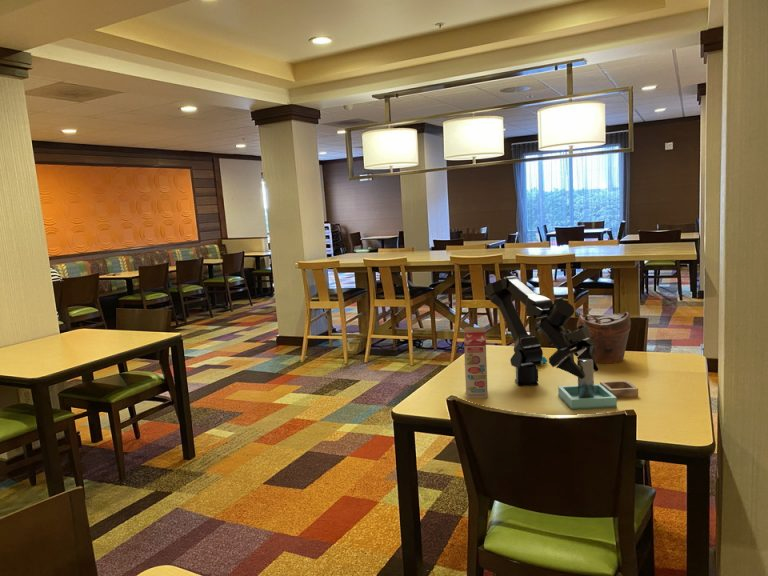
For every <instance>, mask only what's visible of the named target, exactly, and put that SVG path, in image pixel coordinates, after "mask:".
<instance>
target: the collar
mask: <svg viewBox="0 0 768 576" xmlns="http://www.w3.org/2000/svg"><path fill="white" fill-rule="evenodd" d="M599 384H601V385H602V386H603V387H604V388H606V389H607V390H608V391H609V392H610V393H612V394H613V395H614V396H615V397H617V399H619V398H638V397H639V387H636V386H635V385H633V384H632V383H631V382H629V381H628V380H627V379H626V380H612V381H611V380H610V381H599Z"/></svg>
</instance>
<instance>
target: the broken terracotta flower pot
mask: <svg viewBox="0 0 768 576" xmlns="http://www.w3.org/2000/svg"><path fill="white" fill-rule="evenodd" d="M583 324H585V325H586V326H588V327H589V328H590V329H591V331H590V335H591V337H587V338H591V340H592V341H593V342H594V344H593V346H594V347H593V349H592V354H593V357H594V359H595V361H596V363H600V364H615V363H620V362H623V360H624V359H625V354H626V348H627V343H628V339H629V335H630V330H631V325H632V322H631V316H630V313H629V312H627V311H623V312H619V313H612V314H607V315H601V316H599V315H592V314H589V313H588V314H580V315H579V316H578V319H577V322H576V328H577V329H576V330H578V326H580V325H583Z"/></svg>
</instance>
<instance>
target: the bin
mask: <svg viewBox="0 0 768 576" xmlns="http://www.w3.org/2000/svg"><path fill="white" fill-rule="evenodd" d="M557 389H558V390H557V391H558V397H559V398H560V399H561V401H563V402H564V403H565V405H566V406H568V408H570V410H571V411H577V410H578V411H579V410H580V411H581V410H596V409H612V408H613V409H615V408H617V407H618V406H617V404H618V403H617V402H618V401H617V399H618V398H617V397H615V396H614V395H613V394H612V393H610V392H609V391H608V390H607V389H606V388H604V387H603V386H602V385H601V384H600V383H598V384H597V383H594V398H578V384H577V385H561V386H557Z"/></svg>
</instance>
